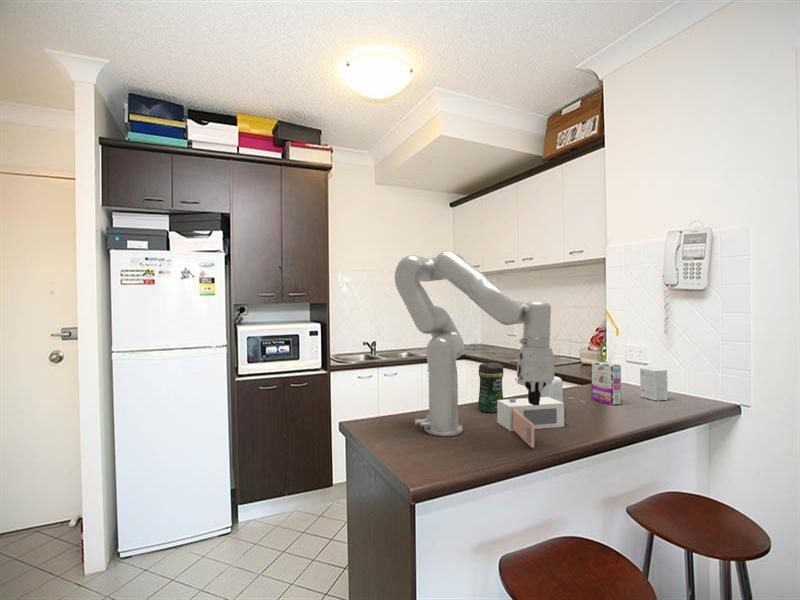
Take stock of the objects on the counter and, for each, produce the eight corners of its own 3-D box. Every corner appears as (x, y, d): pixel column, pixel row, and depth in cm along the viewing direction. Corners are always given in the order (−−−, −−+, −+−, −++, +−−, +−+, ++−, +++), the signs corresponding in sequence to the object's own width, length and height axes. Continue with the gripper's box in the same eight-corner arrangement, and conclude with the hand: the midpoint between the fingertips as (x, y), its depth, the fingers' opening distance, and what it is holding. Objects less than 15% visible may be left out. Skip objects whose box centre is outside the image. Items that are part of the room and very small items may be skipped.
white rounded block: (555, 404, 159) (554, 374, 159) (564, 406, 155) (564, 375, 156) (539, 407, 153) (539, 377, 154) (548, 410, 150) (548, 378, 150)
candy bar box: (622, 404, 157) (621, 364, 158) (612, 405, 156) (612, 365, 156) (600, 398, 168) (599, 361, 168) (591, 399, 166) (590, 361, 167)
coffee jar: (489, 414, 144) (488, 365, 145) (475, 409, 151) (474, 362, 151) (507, 410, 149) (507, 363, 149) (493, 406, 156) (492, 360, 156)
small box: (668, 400, 164) (667, 370, 164) (655, 401, 162) (655, 370, 162) (651, 396, 172) (651, 367, 172) (640, 397, 170) (639, 367, 170)
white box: (510, 431, 125) (509, 403, 125) (497, 422, 134) (497, 397, 134) (569, 426, 129) (569, 399, 130) (553, 418, 138) (553, 393, 139)
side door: (509, 428, 125) (509, 408, 125) (514, 428, 125) (514, 408, 125) (528, 447, 108) (528, 424, 109) (534, 447, 109) (534, 424, 109)
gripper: (519, 344, 109) (517, 408, 109) (566, 344, 112) (563, 407, 112) (507, 341, 116) (504, 401, 116) (551, 341, 119) (548, 400, 119)
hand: (533, 404), depth 114 cm, fingers closed
